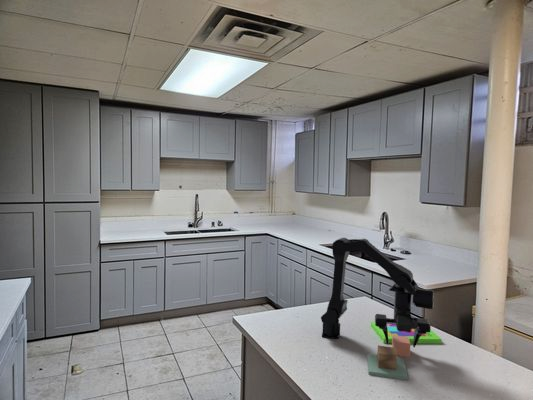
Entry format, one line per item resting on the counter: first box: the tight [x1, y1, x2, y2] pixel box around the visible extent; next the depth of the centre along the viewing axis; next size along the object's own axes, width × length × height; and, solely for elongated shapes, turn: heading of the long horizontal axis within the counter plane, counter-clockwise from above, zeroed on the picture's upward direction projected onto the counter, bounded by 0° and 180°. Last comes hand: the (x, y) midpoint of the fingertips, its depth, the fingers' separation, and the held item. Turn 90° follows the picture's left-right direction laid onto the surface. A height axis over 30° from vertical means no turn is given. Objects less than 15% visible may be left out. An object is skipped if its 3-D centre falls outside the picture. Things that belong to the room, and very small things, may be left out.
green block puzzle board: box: [370, 321, 442, 344], centre depth 152 cm, size 23×2×25 cm
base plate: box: [366, 353, 409, 381], centre depth 121 cm, size 12×12×1 cm
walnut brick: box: [376, 345, 398, 370], centre depth 121 cm, size 6×6×5 cm
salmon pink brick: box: [391, 335, 411, 357], centre depth 132 cm, size 6×6×5 cm
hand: (400, 345), depth 132 cm, fingers open, 9 cm apart
